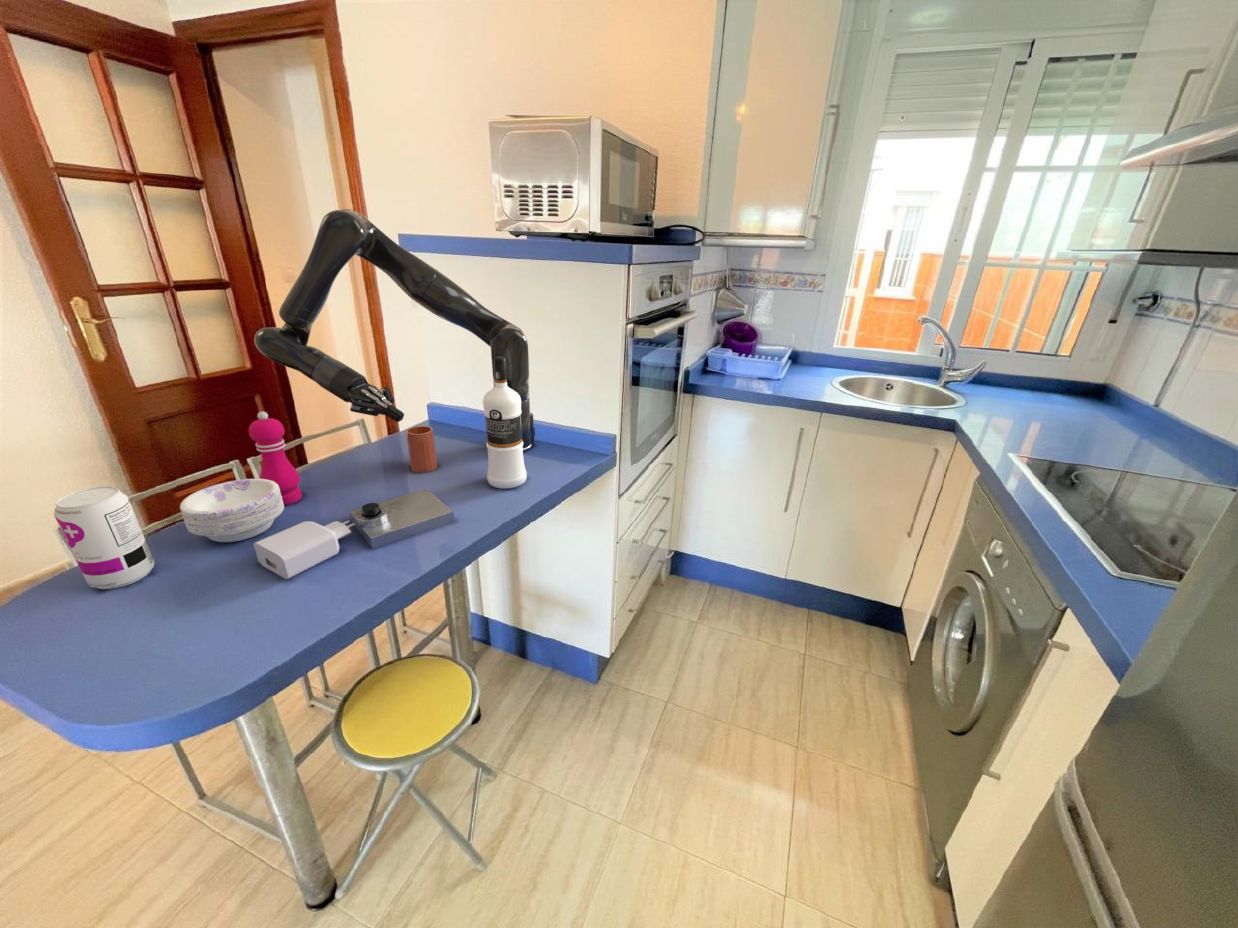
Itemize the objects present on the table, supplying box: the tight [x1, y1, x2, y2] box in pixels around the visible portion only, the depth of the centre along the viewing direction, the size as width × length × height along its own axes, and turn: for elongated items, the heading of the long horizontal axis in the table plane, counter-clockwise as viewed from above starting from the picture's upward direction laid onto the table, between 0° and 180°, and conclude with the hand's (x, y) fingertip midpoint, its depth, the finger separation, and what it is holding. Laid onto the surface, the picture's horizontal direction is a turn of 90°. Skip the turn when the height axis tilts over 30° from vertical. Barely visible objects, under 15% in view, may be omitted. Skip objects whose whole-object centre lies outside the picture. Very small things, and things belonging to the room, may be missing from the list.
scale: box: [348, 488, 455, 550], centre depth 101 cm, size 16×13×4 cm
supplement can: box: [53, 485, 155, 590], centre depth 80 cm, size 8×8×15 cm
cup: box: [405, 425, 438, 473], centre depth 124 cm, size 6×6×10 cm
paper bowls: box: [179, 478, 285, 543], centre depth 96 cm, size 15×15×8 cm
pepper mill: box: [248, 411, 303, 506], centre depth 105 cm, size 7×7×20 cm
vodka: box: [482, 357, 528, 490], centre depth 114 cm, size 9×9×30 cm
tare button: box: [361, 502, 380, 518], centre depth 97 cm, size 3×3×2 cm
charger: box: [253, 519, 355, 580], centre depth 91 cm, size 5×9×15 cm
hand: (401, 418), depth 120 cm, fingers closed
